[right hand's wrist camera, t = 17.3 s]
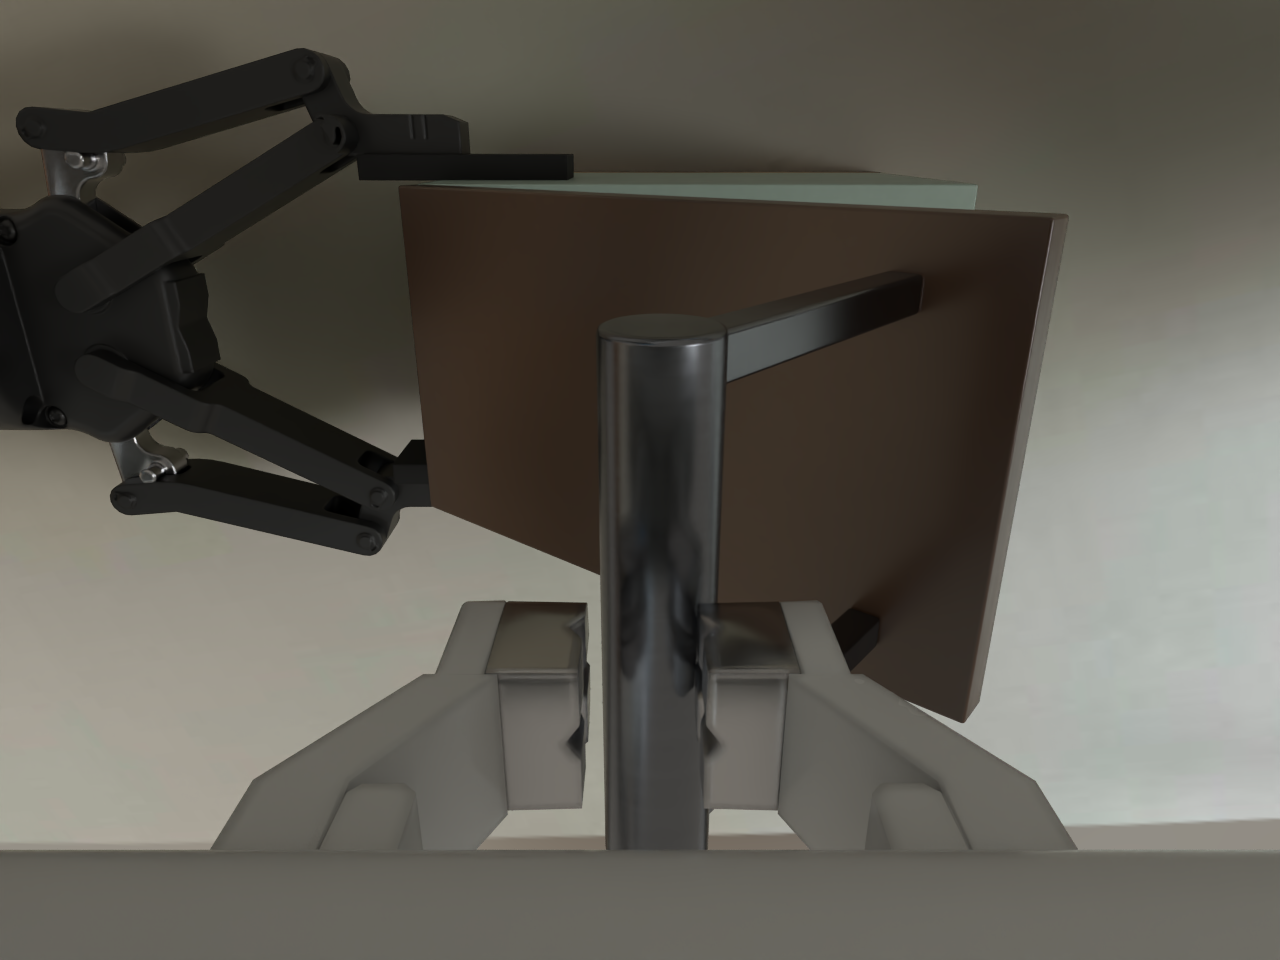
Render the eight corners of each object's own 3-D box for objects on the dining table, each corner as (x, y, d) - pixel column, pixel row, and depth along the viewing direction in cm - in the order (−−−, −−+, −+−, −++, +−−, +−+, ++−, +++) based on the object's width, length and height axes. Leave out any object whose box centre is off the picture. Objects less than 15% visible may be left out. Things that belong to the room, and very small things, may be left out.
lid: (1070, 213, 13) (813, 271, 7) (979, 703, 17) (755, 1018, 11) (425, 184, 23) (84, 198, 17) (453, 497, 27) (180, 602, 21)
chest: (874, 171, 34) (979, 184, 23) (852, 398, 37) (934, 496, 27) (485, 171, 34) (415, 183, 23) (500, 398, 37) (445, 496, 27)
